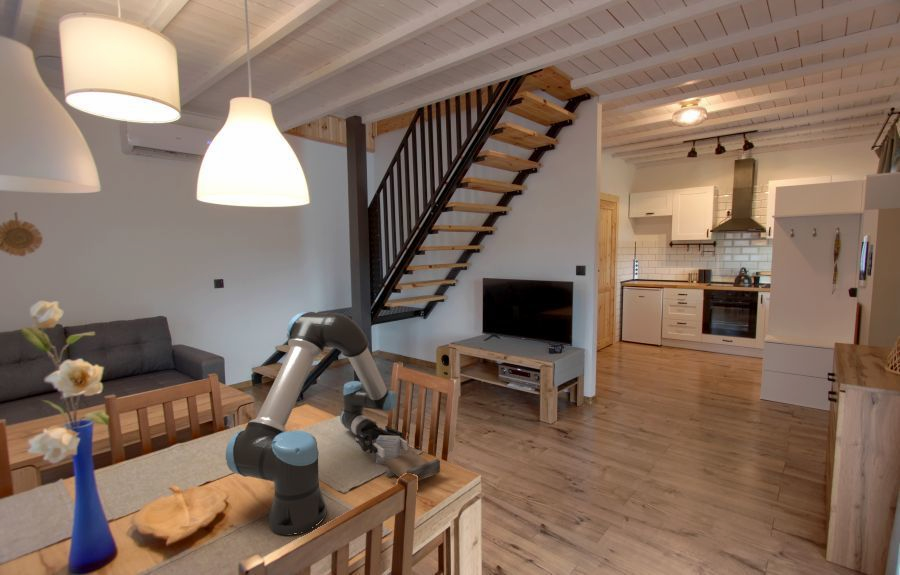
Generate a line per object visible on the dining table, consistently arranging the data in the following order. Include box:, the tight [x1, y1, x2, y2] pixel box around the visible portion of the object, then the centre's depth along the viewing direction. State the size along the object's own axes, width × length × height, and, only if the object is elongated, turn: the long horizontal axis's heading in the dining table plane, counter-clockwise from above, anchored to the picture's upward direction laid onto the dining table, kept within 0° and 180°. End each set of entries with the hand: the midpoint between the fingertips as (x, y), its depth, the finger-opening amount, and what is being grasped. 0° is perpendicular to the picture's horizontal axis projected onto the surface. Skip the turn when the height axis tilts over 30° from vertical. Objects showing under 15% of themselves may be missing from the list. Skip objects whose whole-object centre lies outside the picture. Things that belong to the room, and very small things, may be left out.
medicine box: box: [375, 435, 402, 465], centre depth 150 cm, size 8×4×9 cm, turn 84°
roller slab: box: [382, 451, 441, 482], centre depth 141 cm, size 13×16×6 cm
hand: (395, 449), depth 146 cm, fingers closed on medicine box, 8 cm apart
